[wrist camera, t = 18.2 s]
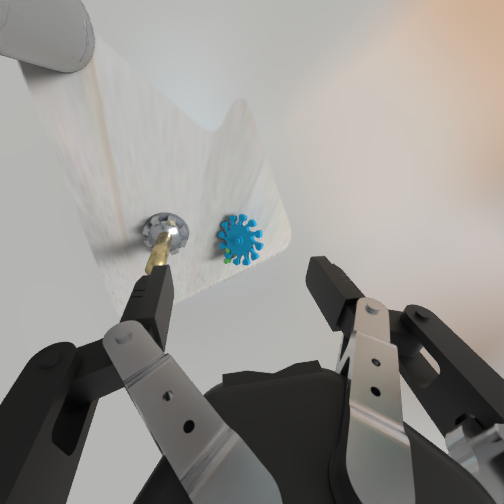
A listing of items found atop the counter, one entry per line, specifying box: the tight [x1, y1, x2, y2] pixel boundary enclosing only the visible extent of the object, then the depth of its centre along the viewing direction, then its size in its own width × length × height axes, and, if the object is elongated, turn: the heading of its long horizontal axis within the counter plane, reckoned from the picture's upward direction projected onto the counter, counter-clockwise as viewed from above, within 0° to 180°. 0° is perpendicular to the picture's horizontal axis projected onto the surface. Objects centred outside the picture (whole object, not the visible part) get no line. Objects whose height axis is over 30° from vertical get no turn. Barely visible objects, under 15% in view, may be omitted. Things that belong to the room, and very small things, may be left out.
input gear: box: [142, 215, 187, 275], centre depth 37 cm, size 8×8×12 cm
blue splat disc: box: [218, 214, 263, 265], centre depth 44 cm, size 11×6×10 cm
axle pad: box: [146, 213, 189, 248], centre depth 42 cm, size 8×8×1 cm
